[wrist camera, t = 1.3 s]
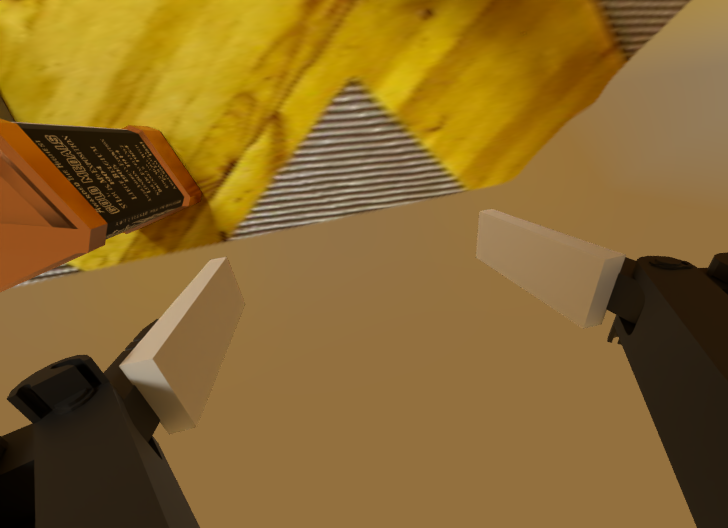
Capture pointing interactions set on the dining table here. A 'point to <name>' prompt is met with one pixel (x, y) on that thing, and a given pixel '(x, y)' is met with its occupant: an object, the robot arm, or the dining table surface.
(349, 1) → the dining table surface
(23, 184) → the whiskey bottle
